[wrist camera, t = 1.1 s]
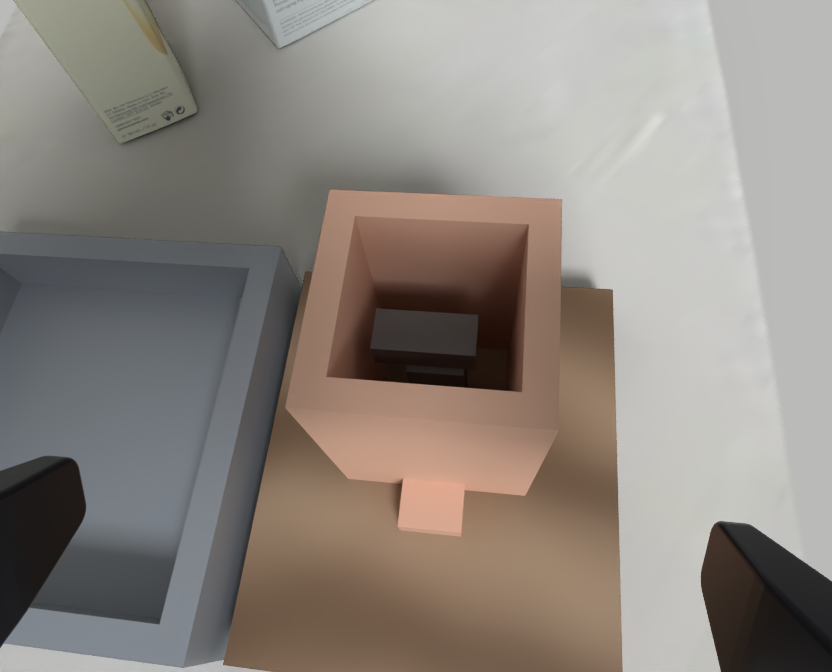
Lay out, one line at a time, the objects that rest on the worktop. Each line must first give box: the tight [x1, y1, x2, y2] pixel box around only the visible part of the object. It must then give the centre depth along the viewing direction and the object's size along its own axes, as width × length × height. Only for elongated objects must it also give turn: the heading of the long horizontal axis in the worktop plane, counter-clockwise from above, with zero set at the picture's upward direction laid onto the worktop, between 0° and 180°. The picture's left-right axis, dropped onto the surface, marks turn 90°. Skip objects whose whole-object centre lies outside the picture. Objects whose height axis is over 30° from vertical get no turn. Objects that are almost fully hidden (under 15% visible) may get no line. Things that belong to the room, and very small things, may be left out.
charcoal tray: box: [0, 232, 302, 668], centre depth 22 cm, size 14×13×3 cm
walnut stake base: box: [223, 272, 622, 672], centre depth 19 cm, size 14×12×8 cm
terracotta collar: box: [285, 190, 562, 537], centre depth 18 cm, size 8×6×8 cm
